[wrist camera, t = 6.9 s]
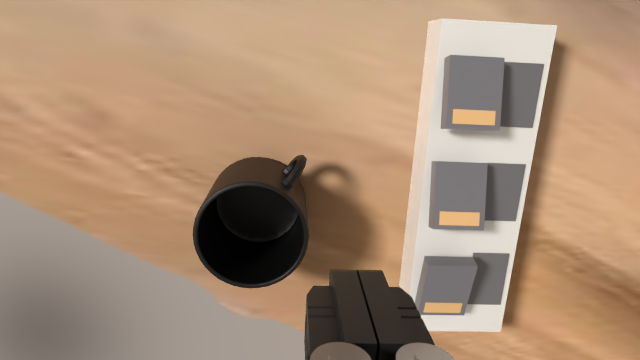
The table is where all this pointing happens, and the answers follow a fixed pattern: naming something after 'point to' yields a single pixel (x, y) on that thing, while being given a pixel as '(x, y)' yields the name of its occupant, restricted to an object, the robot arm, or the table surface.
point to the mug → (253, 223)
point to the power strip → (478, 147)
